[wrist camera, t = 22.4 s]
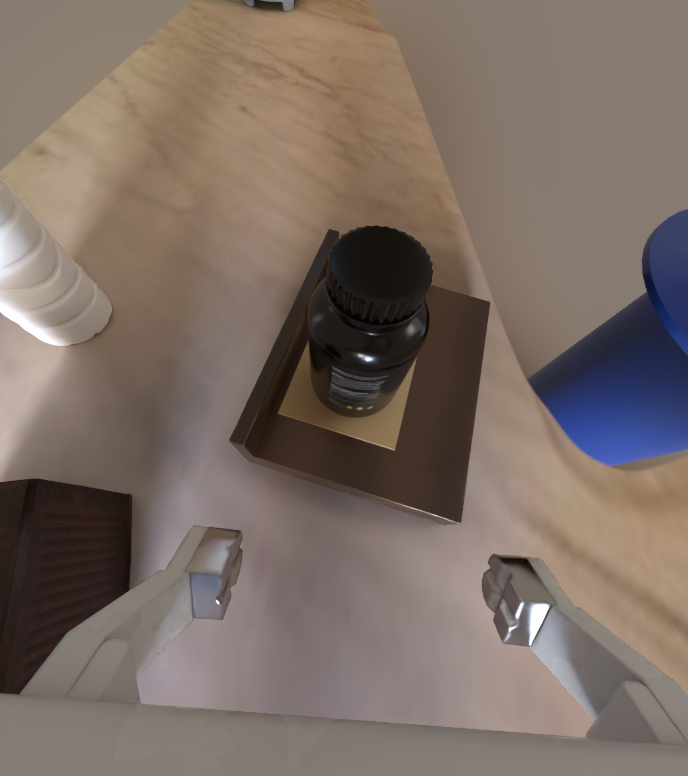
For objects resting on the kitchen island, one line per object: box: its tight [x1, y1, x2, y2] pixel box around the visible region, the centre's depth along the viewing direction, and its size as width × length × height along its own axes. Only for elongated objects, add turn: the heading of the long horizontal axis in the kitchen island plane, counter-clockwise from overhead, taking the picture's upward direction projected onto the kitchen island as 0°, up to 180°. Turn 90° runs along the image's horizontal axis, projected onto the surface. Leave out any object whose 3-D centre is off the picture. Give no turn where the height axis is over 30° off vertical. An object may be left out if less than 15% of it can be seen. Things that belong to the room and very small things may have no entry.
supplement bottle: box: [308, 225, 433, 418], centre depth 20 cm, size 7×7×12 cm
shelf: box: [229, 229, 490, 525], centre depth 26 cm, size 16×20×6 cm
